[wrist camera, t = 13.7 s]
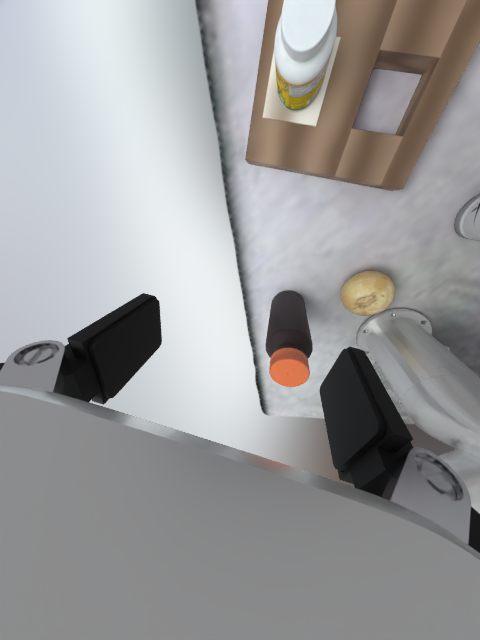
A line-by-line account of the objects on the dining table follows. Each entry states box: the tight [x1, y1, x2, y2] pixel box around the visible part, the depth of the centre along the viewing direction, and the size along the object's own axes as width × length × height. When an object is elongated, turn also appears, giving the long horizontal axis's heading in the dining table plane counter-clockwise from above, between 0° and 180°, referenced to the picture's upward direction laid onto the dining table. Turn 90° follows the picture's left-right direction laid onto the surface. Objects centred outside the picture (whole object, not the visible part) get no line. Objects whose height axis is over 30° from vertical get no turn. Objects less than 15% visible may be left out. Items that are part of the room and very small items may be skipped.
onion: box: [341, 271, 395, 316], centre depth 33 cm, size 8×8×7 cm
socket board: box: [245, 0, 480, 191], centre depth 23 cm, size 22×16×3 cm
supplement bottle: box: [274, 0, 337, 112], centre depth 19 cm, size 5×5×10 cm
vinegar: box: [266, 291, 312, 387], centre depth 32 cm, size 7×7×20 cm
